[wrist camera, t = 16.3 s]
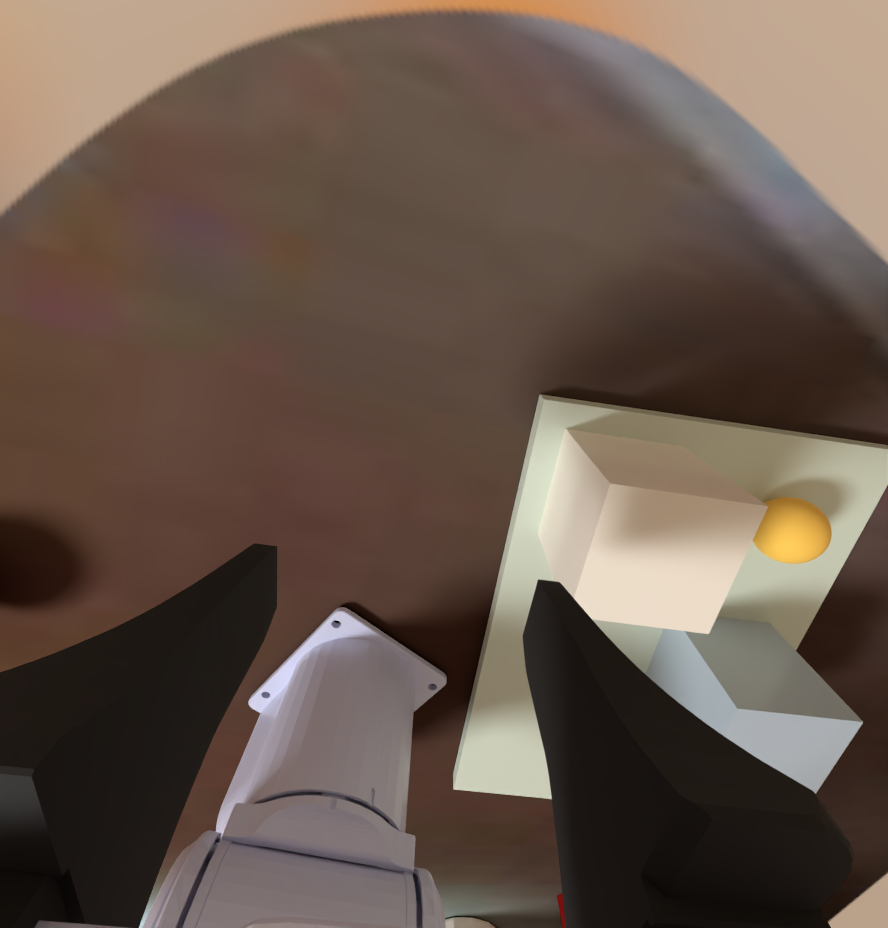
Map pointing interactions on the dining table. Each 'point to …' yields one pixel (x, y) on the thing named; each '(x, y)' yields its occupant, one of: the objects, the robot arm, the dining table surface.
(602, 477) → the tan cuboid
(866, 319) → the dining table surface
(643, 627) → the sage board
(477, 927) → the white cup
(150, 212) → the dining table surface
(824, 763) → the matte grey-blue cube
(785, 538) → the orange ball
